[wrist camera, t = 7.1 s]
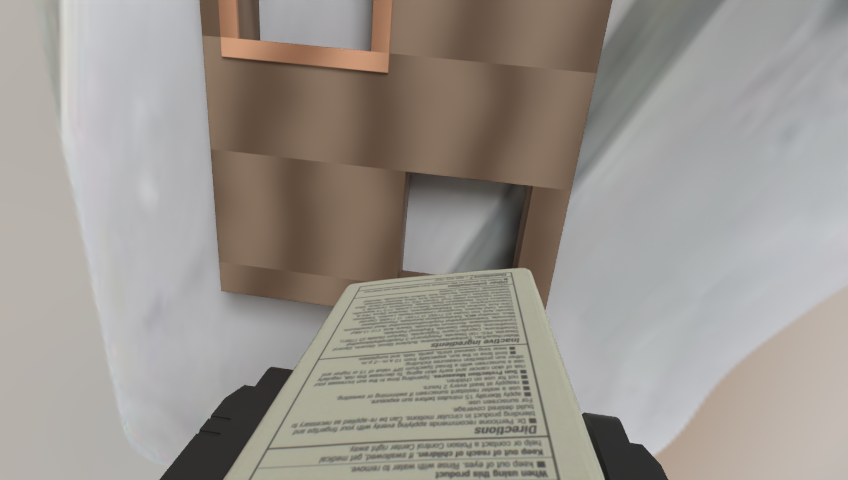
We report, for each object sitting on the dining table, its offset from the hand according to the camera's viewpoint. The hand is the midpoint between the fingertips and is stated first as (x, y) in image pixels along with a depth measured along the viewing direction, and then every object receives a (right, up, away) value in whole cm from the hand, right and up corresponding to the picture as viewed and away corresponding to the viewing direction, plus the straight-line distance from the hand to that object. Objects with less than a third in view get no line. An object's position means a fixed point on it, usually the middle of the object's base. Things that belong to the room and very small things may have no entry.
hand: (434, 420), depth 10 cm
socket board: (-2, +12, +17) cm, 21 cm away
